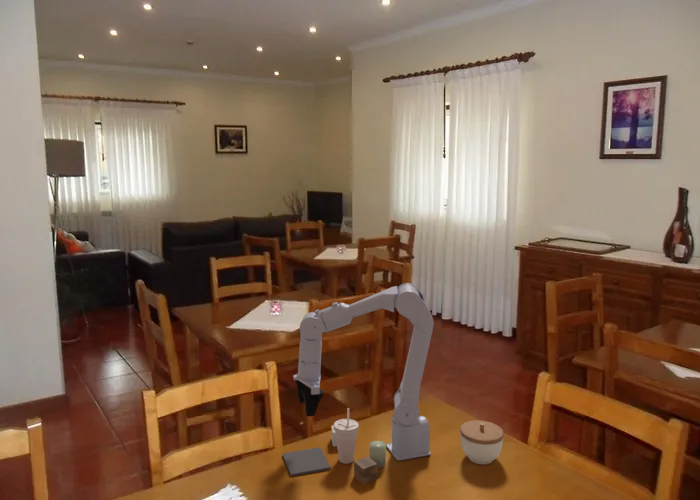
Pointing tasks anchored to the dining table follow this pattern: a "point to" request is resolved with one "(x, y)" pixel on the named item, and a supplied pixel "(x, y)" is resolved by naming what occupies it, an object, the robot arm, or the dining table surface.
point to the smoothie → (346, 438)
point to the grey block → (333, 436)
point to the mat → (306, 461)
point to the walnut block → (365, 470)
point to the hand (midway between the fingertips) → (306, 408)
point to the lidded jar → (481, 441)
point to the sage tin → (378, 453)
